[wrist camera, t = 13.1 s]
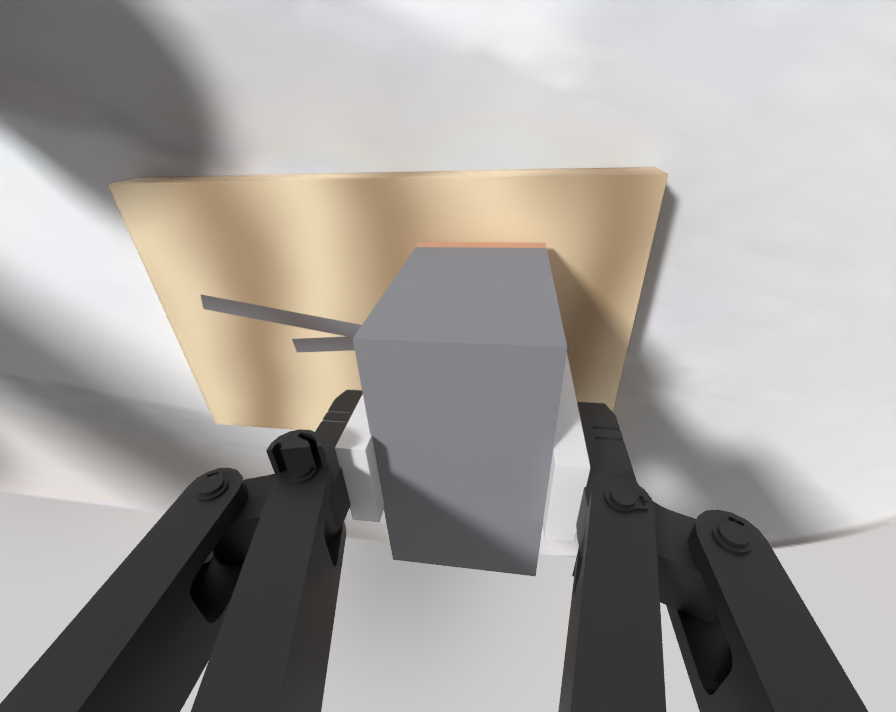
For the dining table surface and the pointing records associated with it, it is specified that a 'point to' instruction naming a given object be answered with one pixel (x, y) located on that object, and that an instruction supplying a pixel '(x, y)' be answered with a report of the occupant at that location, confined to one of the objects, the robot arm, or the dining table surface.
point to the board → (372, 268)
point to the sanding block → (465, 402)
